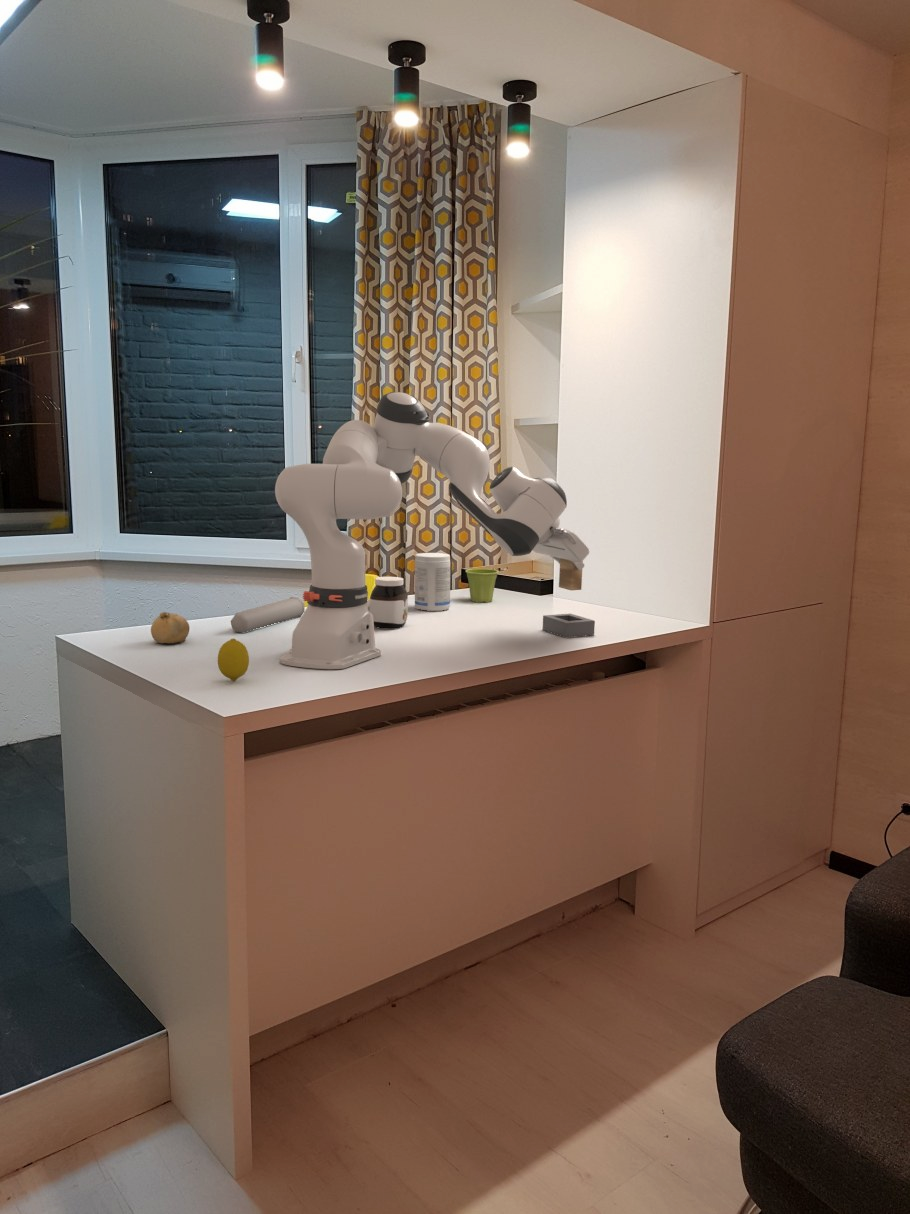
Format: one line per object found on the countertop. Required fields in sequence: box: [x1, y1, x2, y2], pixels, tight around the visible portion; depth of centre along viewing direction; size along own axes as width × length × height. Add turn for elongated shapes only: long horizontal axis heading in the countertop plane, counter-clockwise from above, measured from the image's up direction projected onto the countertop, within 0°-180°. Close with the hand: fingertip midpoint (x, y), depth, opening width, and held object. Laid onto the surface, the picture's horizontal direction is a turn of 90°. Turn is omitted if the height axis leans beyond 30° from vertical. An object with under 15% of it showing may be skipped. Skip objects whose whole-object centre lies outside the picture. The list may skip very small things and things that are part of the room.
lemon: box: [217, 638, 250, 682], centre depth 166 cm, size 6×6×8 cm
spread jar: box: [366, 576, 409, 629], centre depth 222 cm, size 12×11×12 cm
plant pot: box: [465, 568, 500, 603], centre depth 260 cm, size 9×9×9 cm
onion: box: [150, 611, 190, 644], centre depth 197 cm, size 8×8×7 cm
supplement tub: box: [414, 552, 451, 612], centre depth 245 cm, size 10×10×15 cm
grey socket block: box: [542, 613, 596, 638], centre depth 219 cm, size 8×10×4 cm
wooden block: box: [558, 558, 584, 591], centre depth 216 cm, size 3×5×10 cm, turn 27°
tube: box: [230, 596, 306, 633], centre depth 219 cm, size 5×5×25 cm
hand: (573, 566), depth 217 cm, fingers closed on wooden block, 5 cm apart
